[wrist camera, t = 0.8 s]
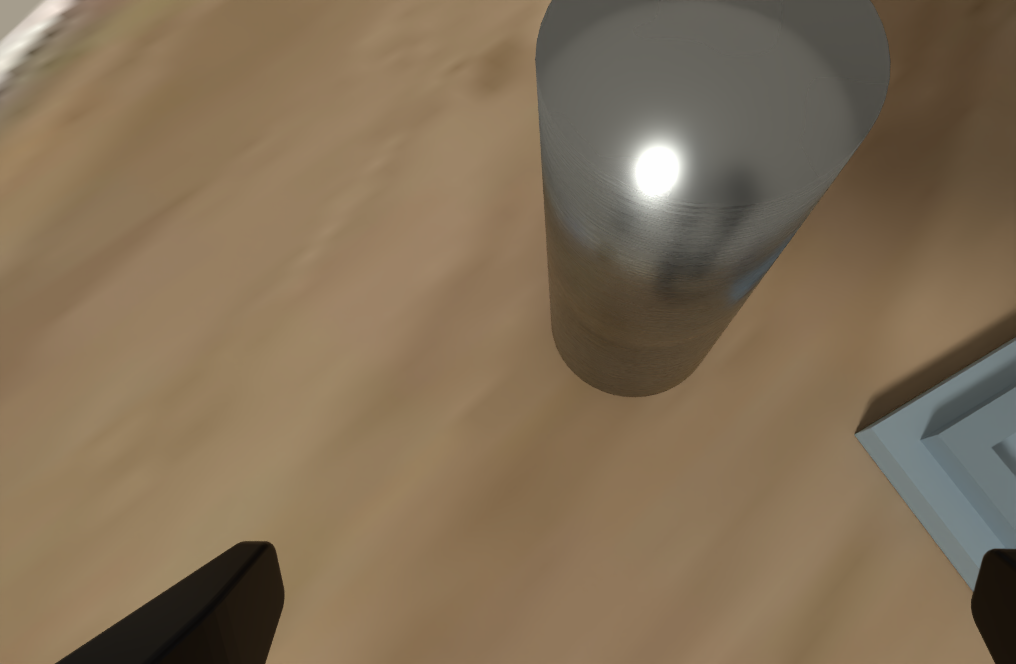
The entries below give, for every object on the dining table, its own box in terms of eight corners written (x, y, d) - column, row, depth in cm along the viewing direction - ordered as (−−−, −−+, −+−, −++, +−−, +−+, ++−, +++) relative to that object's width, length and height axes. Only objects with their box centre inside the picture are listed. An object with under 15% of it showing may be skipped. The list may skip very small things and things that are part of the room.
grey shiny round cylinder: (745, 346, 22) (969, 92, 10) (604, 427, 22) (656, 267, 9) (654, 221, 24) (748, -125, 12) (522, 294, 23) (476, 13, 11)
